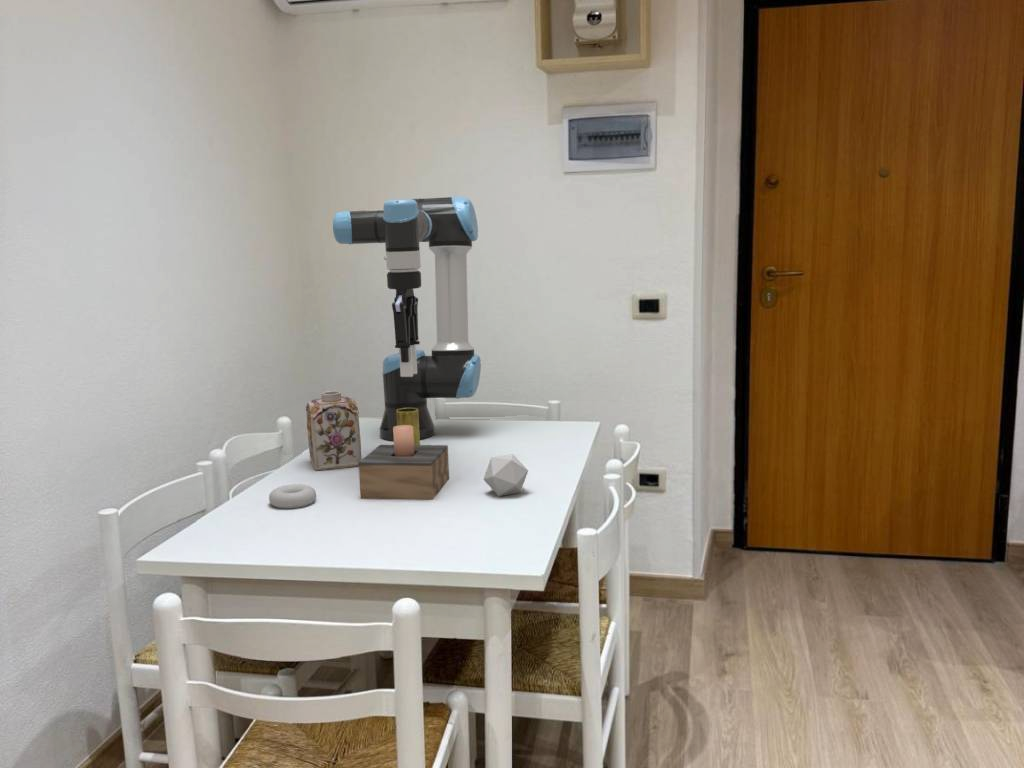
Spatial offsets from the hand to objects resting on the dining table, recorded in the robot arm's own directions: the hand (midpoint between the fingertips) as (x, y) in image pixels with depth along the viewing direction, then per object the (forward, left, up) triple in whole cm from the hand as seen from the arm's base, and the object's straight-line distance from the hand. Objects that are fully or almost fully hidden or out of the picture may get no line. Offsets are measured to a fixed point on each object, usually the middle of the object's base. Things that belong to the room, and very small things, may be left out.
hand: (409, 374), depth 217 cm
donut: (+19, -22, -25) cm, 38 cm away
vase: (-11, -4, -25) cm, 27 cm away
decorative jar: (-14, -24, -25) cm, 37 cm away
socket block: (+7, 0, -25) cm, 26 cm away
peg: (+7, 0, -18) cm, 19 cm away
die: (+9, +23, -25) cm, 35 cm away
